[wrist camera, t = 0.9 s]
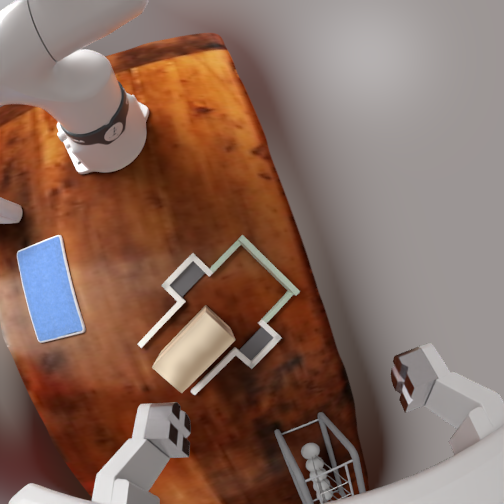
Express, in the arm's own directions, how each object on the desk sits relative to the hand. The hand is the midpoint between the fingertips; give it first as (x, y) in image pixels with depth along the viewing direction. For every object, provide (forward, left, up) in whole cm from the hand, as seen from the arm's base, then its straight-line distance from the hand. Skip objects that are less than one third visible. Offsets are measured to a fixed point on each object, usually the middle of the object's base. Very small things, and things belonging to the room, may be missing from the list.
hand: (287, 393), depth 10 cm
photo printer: (-45, -22, -43) cm, 67 cm away
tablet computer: (-25, -24, -44) cm, 56 cm away
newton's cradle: (+41, -15, -43) cm, 62 cm away
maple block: (+2, -9, -43) cm, 44 cm away
